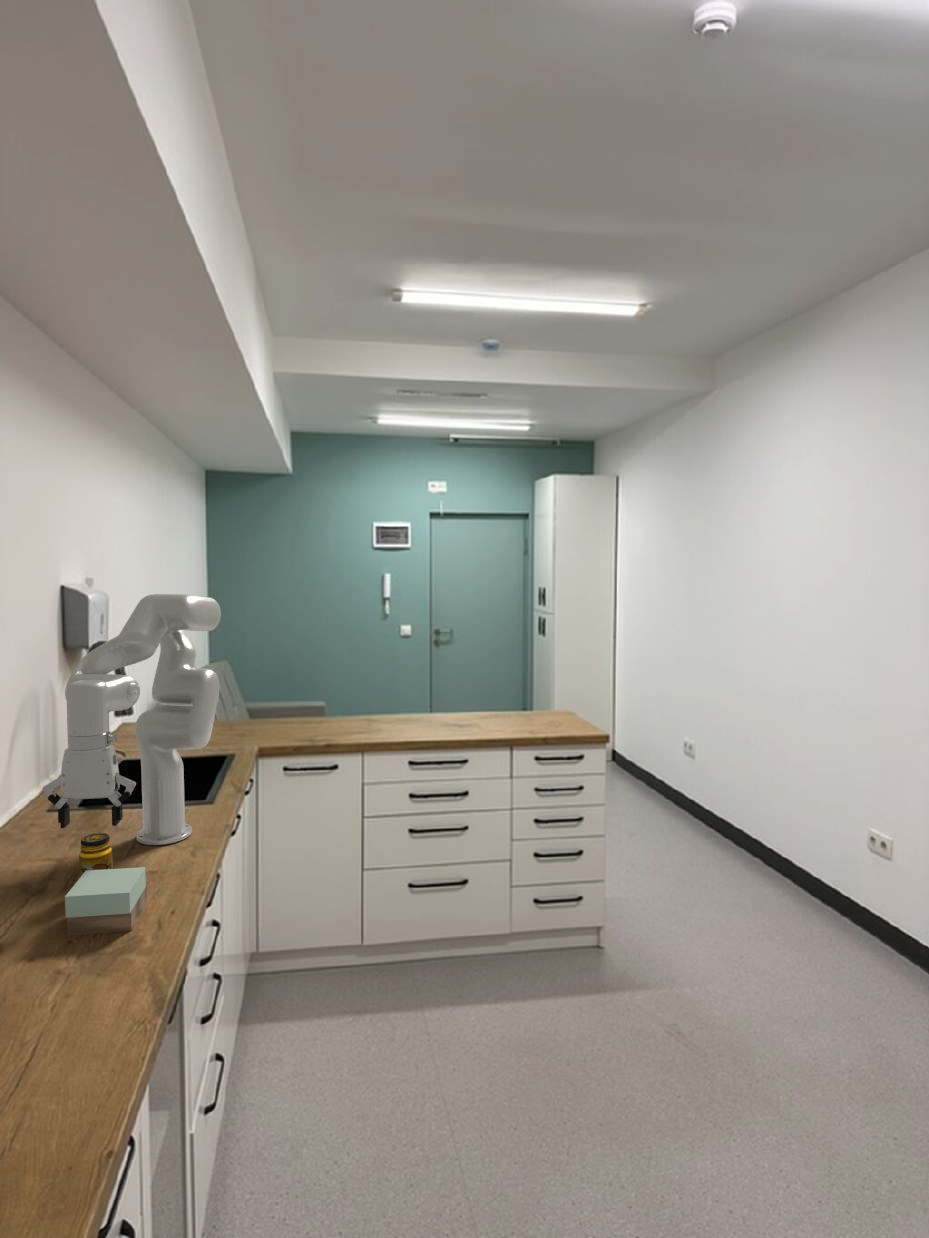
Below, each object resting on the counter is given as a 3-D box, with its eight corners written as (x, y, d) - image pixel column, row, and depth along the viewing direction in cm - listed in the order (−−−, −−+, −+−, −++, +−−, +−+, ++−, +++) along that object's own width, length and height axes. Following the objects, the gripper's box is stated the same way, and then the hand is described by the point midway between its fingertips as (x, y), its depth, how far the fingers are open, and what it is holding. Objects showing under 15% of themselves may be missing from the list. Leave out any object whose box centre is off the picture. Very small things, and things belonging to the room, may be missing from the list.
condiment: (91, 904, 144) (89, 846, 143) (66, 894, 149) (63, 837, 148) (124, 890, 151) (122, 834, 150) (99, 880, 155) (97, 826, 154)
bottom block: (87, 908, 144) (87, 889, 143) (146, 904, 146) (146, 885, 145) (67, 938, 133) (66, 917, 132) (131, 933, 135) (131, 912, 134)
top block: (86, 890, 143) (85, 870, 143) (145, 886, 145) (145, 866, 144) (65, 917, 132) (64, 896, 132) (130, 913, 134) (129, 892, 134)
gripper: (139, 736, 152) (141, 816, 153) (49, 738, 149) (52, 820, 150) (129, 744, 144) (131, 829, 146) (34, 747, 141) (37, 833, 143)
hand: (90, 824), depth 148 cm, fingers open, 9 cm apart
